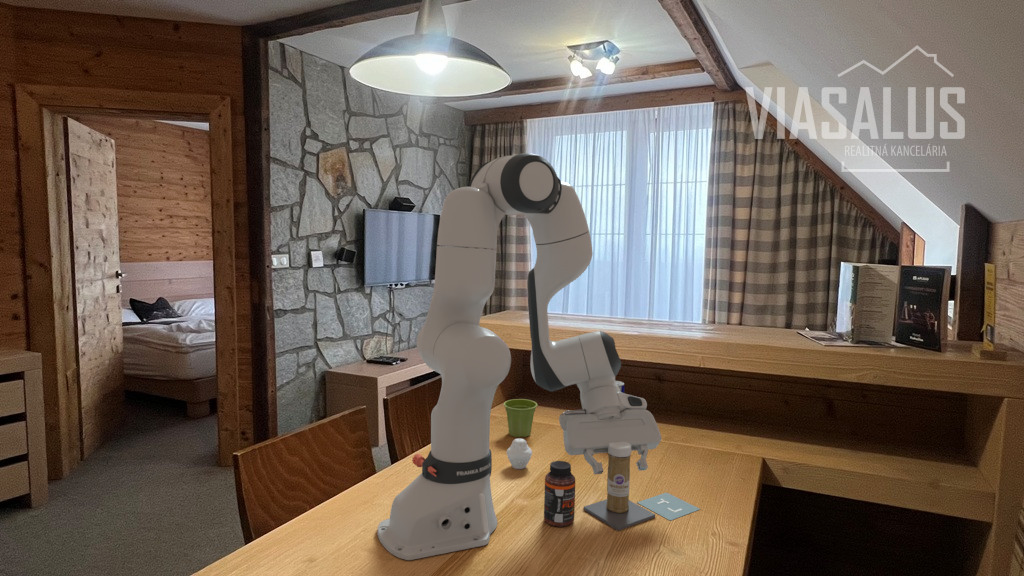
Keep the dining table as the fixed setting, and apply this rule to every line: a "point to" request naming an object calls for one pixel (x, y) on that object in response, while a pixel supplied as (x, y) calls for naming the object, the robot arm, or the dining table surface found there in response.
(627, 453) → the sprinkles bottle
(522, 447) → the white rounded piece
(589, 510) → the slate coaster
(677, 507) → the tile
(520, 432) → the plant pot
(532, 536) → the dining table surface
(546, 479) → the supplement bottle
